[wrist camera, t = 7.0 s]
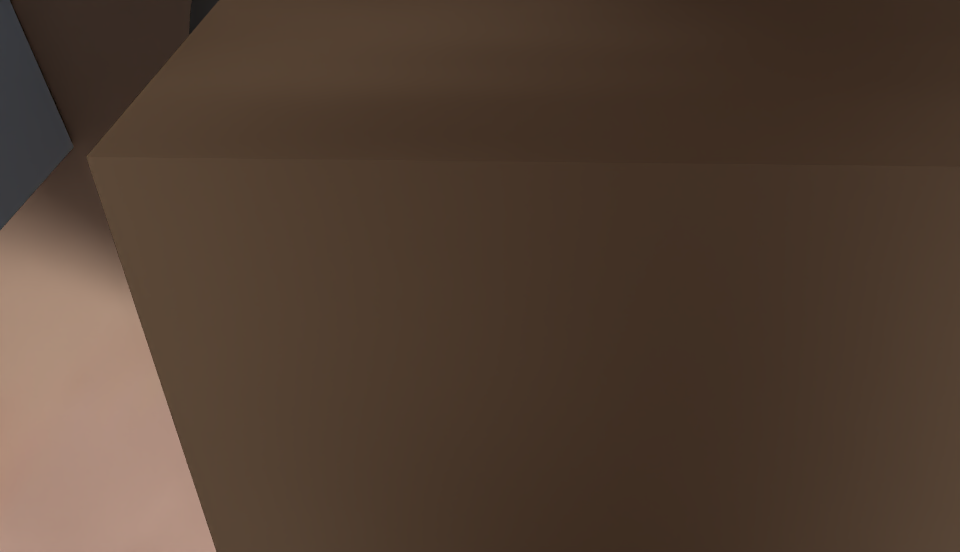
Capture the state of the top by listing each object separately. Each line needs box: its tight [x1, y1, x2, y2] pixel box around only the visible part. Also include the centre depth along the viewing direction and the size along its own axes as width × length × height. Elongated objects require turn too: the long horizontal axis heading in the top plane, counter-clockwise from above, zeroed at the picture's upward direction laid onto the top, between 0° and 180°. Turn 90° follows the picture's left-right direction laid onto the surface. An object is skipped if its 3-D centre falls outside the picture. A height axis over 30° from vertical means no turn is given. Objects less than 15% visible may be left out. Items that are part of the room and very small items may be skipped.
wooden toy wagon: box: [86, 0, 960, 552], centre depth 7 cm, size 7×6×6 cm
